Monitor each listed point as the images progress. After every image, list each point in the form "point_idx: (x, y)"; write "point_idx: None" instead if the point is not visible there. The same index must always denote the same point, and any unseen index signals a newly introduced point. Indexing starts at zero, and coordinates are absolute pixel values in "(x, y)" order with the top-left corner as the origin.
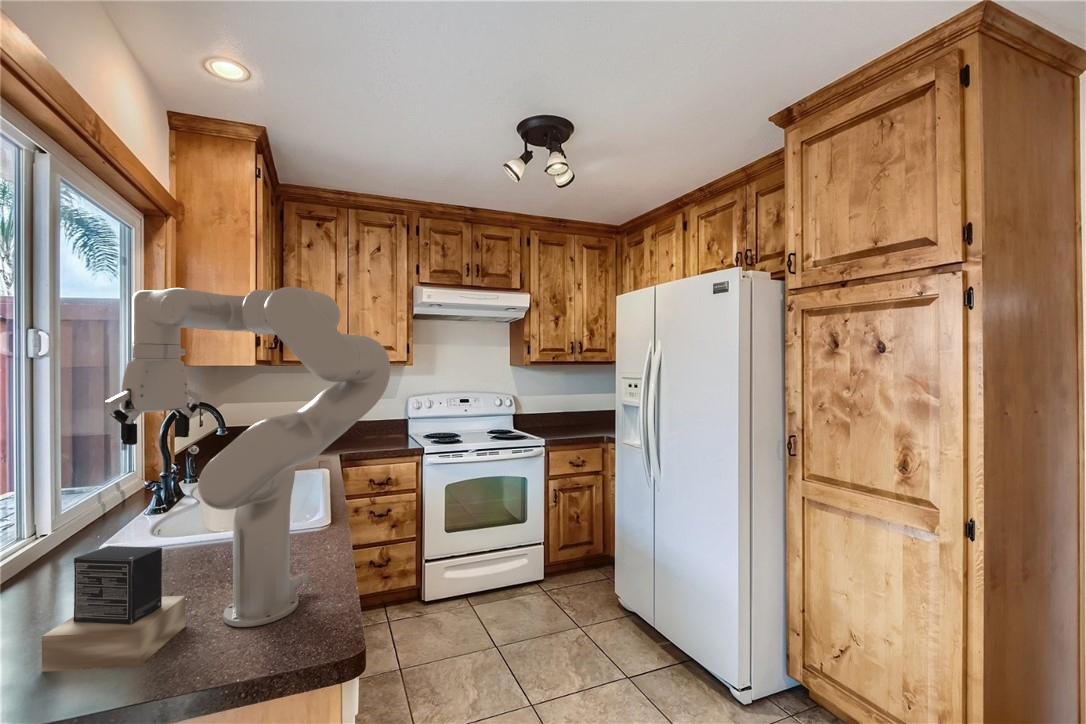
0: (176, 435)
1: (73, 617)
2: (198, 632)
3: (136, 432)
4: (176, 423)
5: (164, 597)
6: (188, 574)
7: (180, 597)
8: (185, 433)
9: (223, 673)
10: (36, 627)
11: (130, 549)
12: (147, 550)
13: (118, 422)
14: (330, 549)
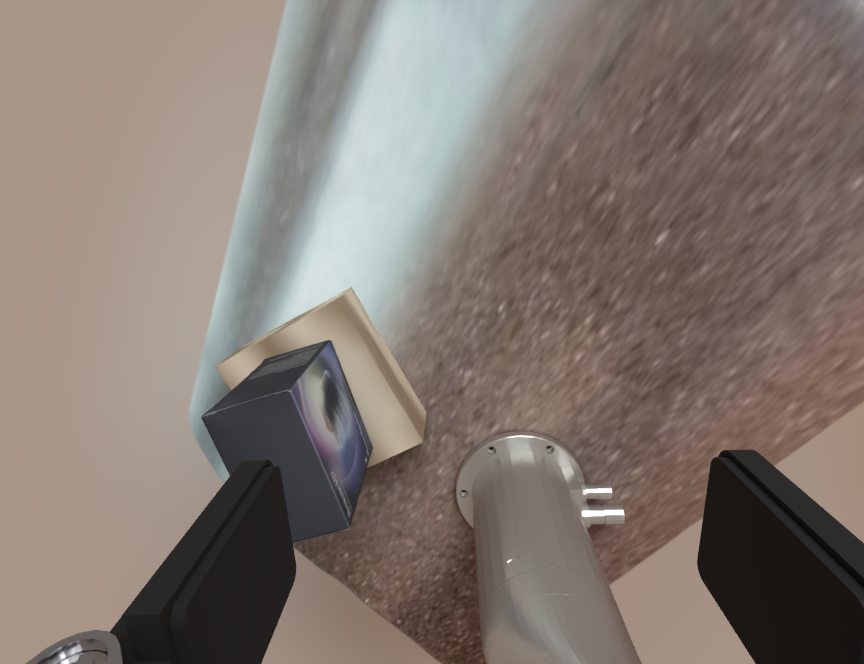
0: (715, 475)
1: (271, 340)
2: (422, 452)
3: (255, 662)
4: (805, 572)
5: (400, 412)
6: (600, 170)
7: (413, 441)
8: (717, 599)
9: (367, 574)
10: (295, 145)
11: (300, 481)
12: (318, 521)
13: (55, 652)
14: (846, 376)
